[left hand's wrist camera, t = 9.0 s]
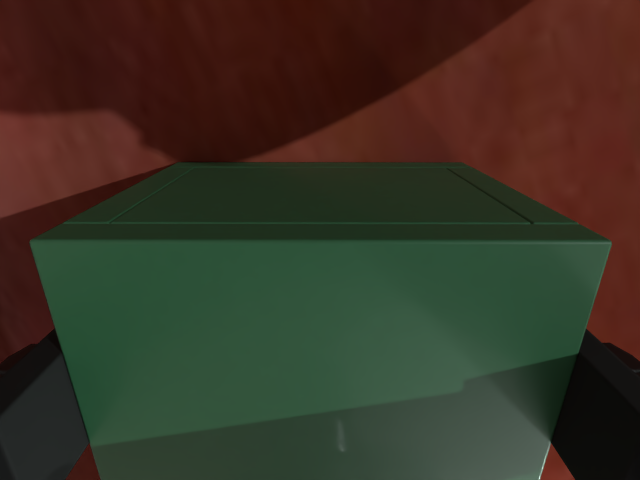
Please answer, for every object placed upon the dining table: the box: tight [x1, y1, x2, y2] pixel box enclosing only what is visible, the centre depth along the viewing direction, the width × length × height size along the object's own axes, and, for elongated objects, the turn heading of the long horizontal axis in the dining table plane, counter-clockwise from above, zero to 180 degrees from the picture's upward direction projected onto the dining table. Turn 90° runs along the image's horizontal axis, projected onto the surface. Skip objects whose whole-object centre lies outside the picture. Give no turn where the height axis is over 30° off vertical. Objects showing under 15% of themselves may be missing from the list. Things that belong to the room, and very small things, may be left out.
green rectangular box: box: [29, 162, 612, 480], centre depth 15 cm, size 20×11×8 cm, turn 0°
